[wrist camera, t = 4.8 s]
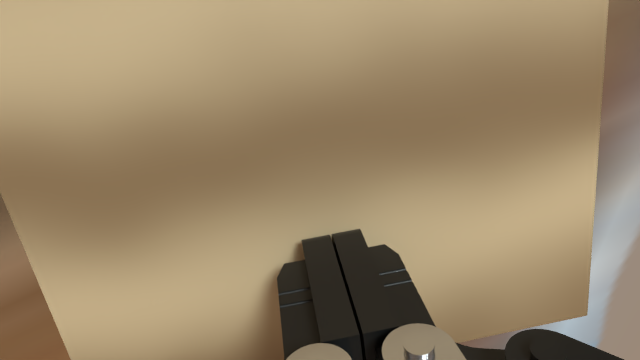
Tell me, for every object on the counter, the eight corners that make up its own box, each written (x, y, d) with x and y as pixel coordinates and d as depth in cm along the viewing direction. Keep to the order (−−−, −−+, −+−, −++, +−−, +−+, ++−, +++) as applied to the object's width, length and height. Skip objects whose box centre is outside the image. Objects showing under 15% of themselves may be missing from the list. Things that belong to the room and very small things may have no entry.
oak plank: (-60, -158, 11) (-173, -215, 8) (539, -235, 12) (629, -310, 9) (124, 345, 16) (96, 419, 13) (531, 262, 17) (586, 315, 14)
